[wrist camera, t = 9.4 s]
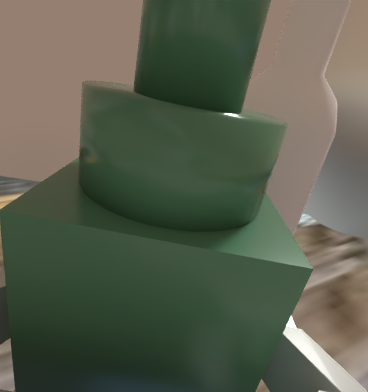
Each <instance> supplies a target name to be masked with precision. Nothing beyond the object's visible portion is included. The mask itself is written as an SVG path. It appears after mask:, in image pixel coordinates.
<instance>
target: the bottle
mask: <svg viewBox="0 0 368 392" xmlns="http://www.w3.org/2000/svg"><path fill="white" fill-rule="evenodd" d="M350 3H351V0H291V1H290V4H289V7H288V11H287V14H286V18H285V21H284V24H283V28H282V32H281V35H280V38H279V42H278V45H277V48H276V52H275V55H274V59H273V63H272V65H271V66H270V67H268V68H267V69H265V70H264V71H262V72H261V73H260V74H258V75H257V76H255V77H254V78H253V79H251V80H250V82H249V86H248V89H247V93H246V97H245V101H244V104H243V108H245V109H249V110H253V111H256V112H260V113H263V114H266V115H269V116H272V117H275V118H278V119H280V120H283V121H285V122H287V123H288V124H289V125H288V128H287V131H286V134H285V137H284V140H283V143H282V146H281V149H280V152H279V155H278V158H277V160H276V163H275V166H274V169H273V172H272V175H271V178H270V181H269V184H268V187H267V190H266V193H267V195H268V196H269V198H270V199H271V201H272V203H273V204H274V206H275V208H276V209H277V211H278V212H279V214H280V216H281V217H282V219H283V221H284V222H285V224H286V225H287V227H288V229H289V230H290V232H291V234H292V235H294V232H295V230H296V228H297V225H298V223H299V220H300V218H301V216H302V213H303V211H304V208H305V205H306V204H307V201H308V199H309V196H310V194H311V191H312V189H313V187H314V184H315V182H316V179H317V177H318V175H319V172H320V170H321V167H322V165H323V163H324V160H325V158H326V155H327V153H328V151H329V148H330V146H331V143H332V141H333V139H334V136H335V132H336V123H337V100H336V98H335V96H334V94H333V92H332V90H331V88H330V86H329V84H328V82H327V80H326V78H325V76H324V74H325V71H326V68H327V65H328V63H329V60H330V57H331V54H332V52H333V49H334V46H335V44H336V40H337V38H338V35H339V33H340V30H341V27H342V24H343V22H344V19H345V16H346V14H347V11H348V8H349V5H350Z"/></svg>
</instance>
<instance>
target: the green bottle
mask: <svg viewBox="0 0 368 392" xmlns="http://www.w3.org/2000/svg"><path fill="white" fill-rule="evenodd" d="M270 3H271V0H143V8H142V17H141V26H140V35H139V44H138V53H137V63H136V71H135V81H134V85H128V84H121V83H113V82H103V81H84V82H82V100H81V125H80V150H79V152H80V153H79V157H78V158H77V159H75V160H74V161H72V162H71V163H69V164H68V165H67V166H65V167H63V168H62V169H60V170H59V171H58V172H56V173H54V174H53V175H51V176H50V177H49V178H47V179H45V180H44V181H42V182H41V183H39V184H38V185H36V186H35V187H33V188H32V189H30V190H29V191H27V192H26V193H24V194H23V195H21V196H20V197H18V198H17V199H15V200H14V201H12V202H11V203H9V204H8V205H6V206H5V207H3V208H2V209H0V226H1V237H2V248H3V259H4V271H5V282H6V293H7V304H8V315H9V326H10V337H11V348H12V360H13V371H14V382H15V392H255V391H256V389H257V387H258V385H259V382H260V380H261V378H262V376H263V374H264V372H265V370H266V368H267V366H268V363H269V361H270V359H271V357H272V355H273V353H274V351H275V349H276V347H277V344H278V342H279V340H280V338H281V336H282V334H283V332H284V330H285V328H286V325H287V323H288V321H289V319H290V317H291V315H292V313H293V311H294V309H295V306H296V304H297V302H298V300H299V298H300V296H301V294H302V292H303V290H304V287H305V285H306V283H307V281H308V279H309V277H310V275H311V273H312V271H313V268H312V266H311V264H310V263H309V261H308V260H307V258H306V256H305V255H304V253H303V251H302V250H301V248H300V247H299V245H298V243H297V242H296V240H295V238H294V237H293V235H292V234H291V232H290V230H289V229H288V227H287V225H286V224H285V222H284V221H283V219H282V217H281V216H280V214H279V212H278V211H277V209H276V208H275V206H274V204H273V203H272V201H271V199H270V198H269V196H268V195H267V193H266V190H267V187H268V184H269V181H270V178H271V175H272V172H273V169H274V166H275V163H276V160H277V158H278V155H279V152H280V149H281V146H282V143H283V140H284V137H285V134H286V131H287V128H288V125H289V124H288V123H287V122H285V121H283V120H280V119H278V118H275V117H272V116H269V115H266V114H263V113H260V112H256V111H253V110H249V109H245V108H243V104H244V101H245V97H246V93H247V89H248V86H249V82H250V78H251V74H252V71H253V67H254V63H255V59H256V56H257V52H258V48H259V44H260V40H261V37H262V33H263V29H264V25H265V22H266V18H267V14H268V11H269V7H270Z"/></svg>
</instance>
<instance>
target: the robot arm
mask: <svg viewBox="0 0 368 392" xmlns="http://www.w3.org/2000/svg"><path fill="white" fill-rule="evenodd" d="M9 338H11V337H10V326H9V315H8V304H7V293H6V282H5V271H4V268H3V269H2V270H1V271H0V344H2V343H3V342H5V341H6V340H8V339H9ZM262 380H263V381H264V383H265V384H266V386H267V387H268V389H269V390H270V392H368V391H367V390H366V389H365V388H363V387H362V386H361V385H360V384H359V383H358V382H357V381H356V380H355V379H354V378H353V377H352V376H351V375H350V374H349V373H347V372H346V371H345V370H344V369H343V368H342V367H341V366H340V365H339V364H338V363H337V362H336V361H335V360H334V359H333V358H331V357H330V356H329V355H328V354H327V353H326V352H325V351H324V350H323V349H322V348H321V347H320V346H319V345H318V344H316V343H315V342H314V341H313V340H312V339H311V338H310V337H309V336H308V335H307V334H306V333H305V332H304V331H303V330H302V329H297V328H296V326H295V323H294V321H293V318H292V316H291V317H290V319H289V321H288V323H287V325H286V328H285V330H284V332H283V334H282V336H281V338H280V340H279V342H278V344H277V347H276V349H275V351H274V353H273V355H272V357H271V359H270V361H269V363H268V366H267V368H266V370H265V372H264V374H263V376H262ZM0 392H12V391H6V390H0Z"/></svg>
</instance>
